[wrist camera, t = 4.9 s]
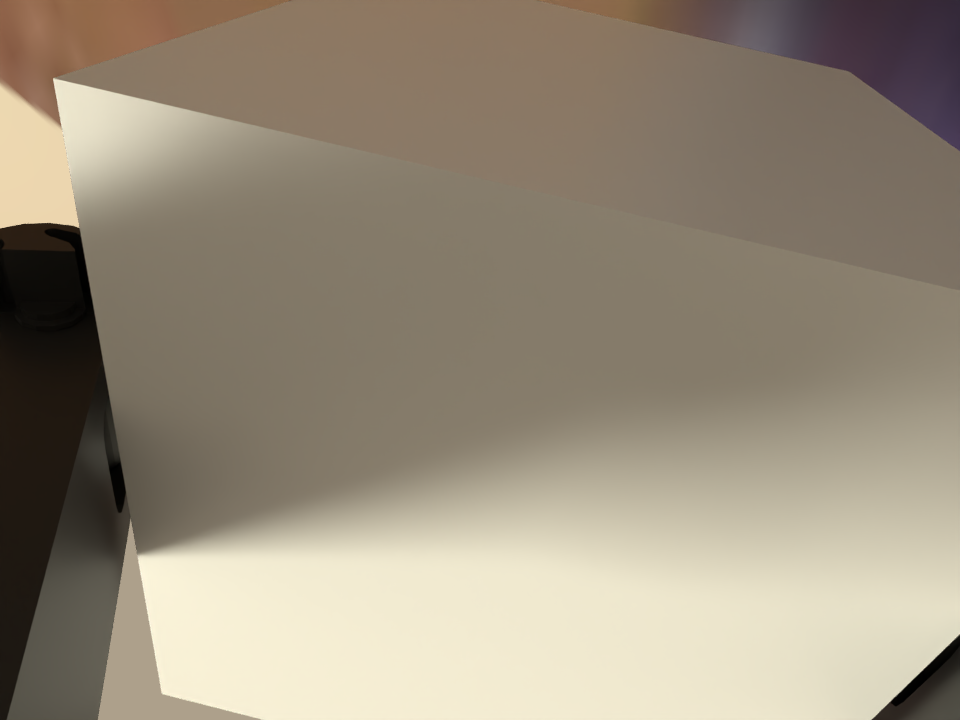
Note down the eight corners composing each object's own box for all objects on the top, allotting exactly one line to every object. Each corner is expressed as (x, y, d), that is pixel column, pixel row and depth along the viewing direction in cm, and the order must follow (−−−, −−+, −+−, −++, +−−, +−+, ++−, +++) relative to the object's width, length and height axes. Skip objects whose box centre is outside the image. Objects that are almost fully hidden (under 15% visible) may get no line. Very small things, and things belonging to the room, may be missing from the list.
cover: (392, -33, 12) (54, 78, 5) (849, 71, 12) (1245, 358, 4) (357, 343, 17) (161, 693, 9) (683, 422, 17) (744, 842, 9)
